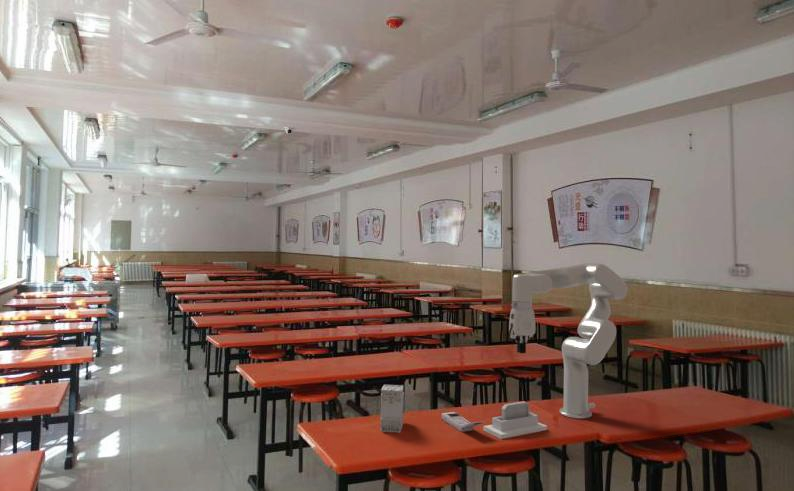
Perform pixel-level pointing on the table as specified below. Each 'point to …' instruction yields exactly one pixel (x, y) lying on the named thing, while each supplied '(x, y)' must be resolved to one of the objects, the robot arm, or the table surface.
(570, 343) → the robot arm
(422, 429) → the table surface
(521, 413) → the grey flat plate
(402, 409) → the circuit breaker
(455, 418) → the mobile phone
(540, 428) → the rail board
